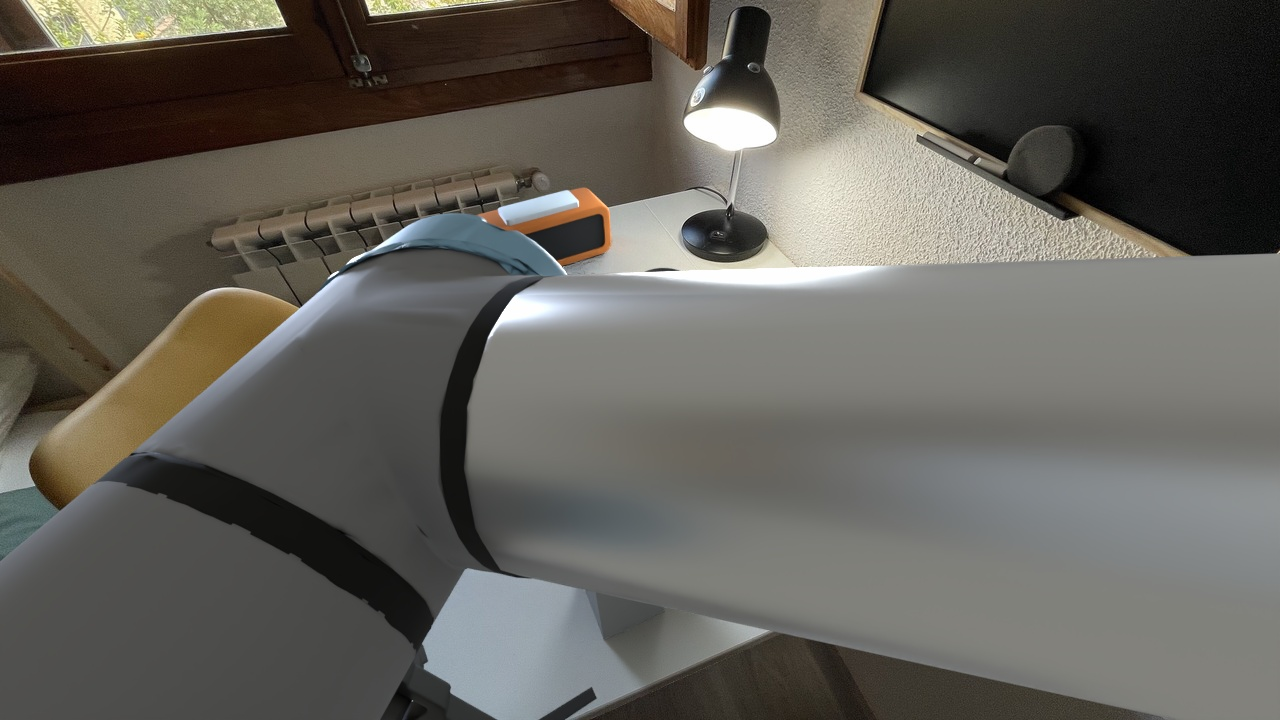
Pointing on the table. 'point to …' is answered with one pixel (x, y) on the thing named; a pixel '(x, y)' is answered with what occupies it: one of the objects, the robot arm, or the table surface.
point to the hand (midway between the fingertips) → (537, 602)
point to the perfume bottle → (619, 612)
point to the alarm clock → (559, 223)
